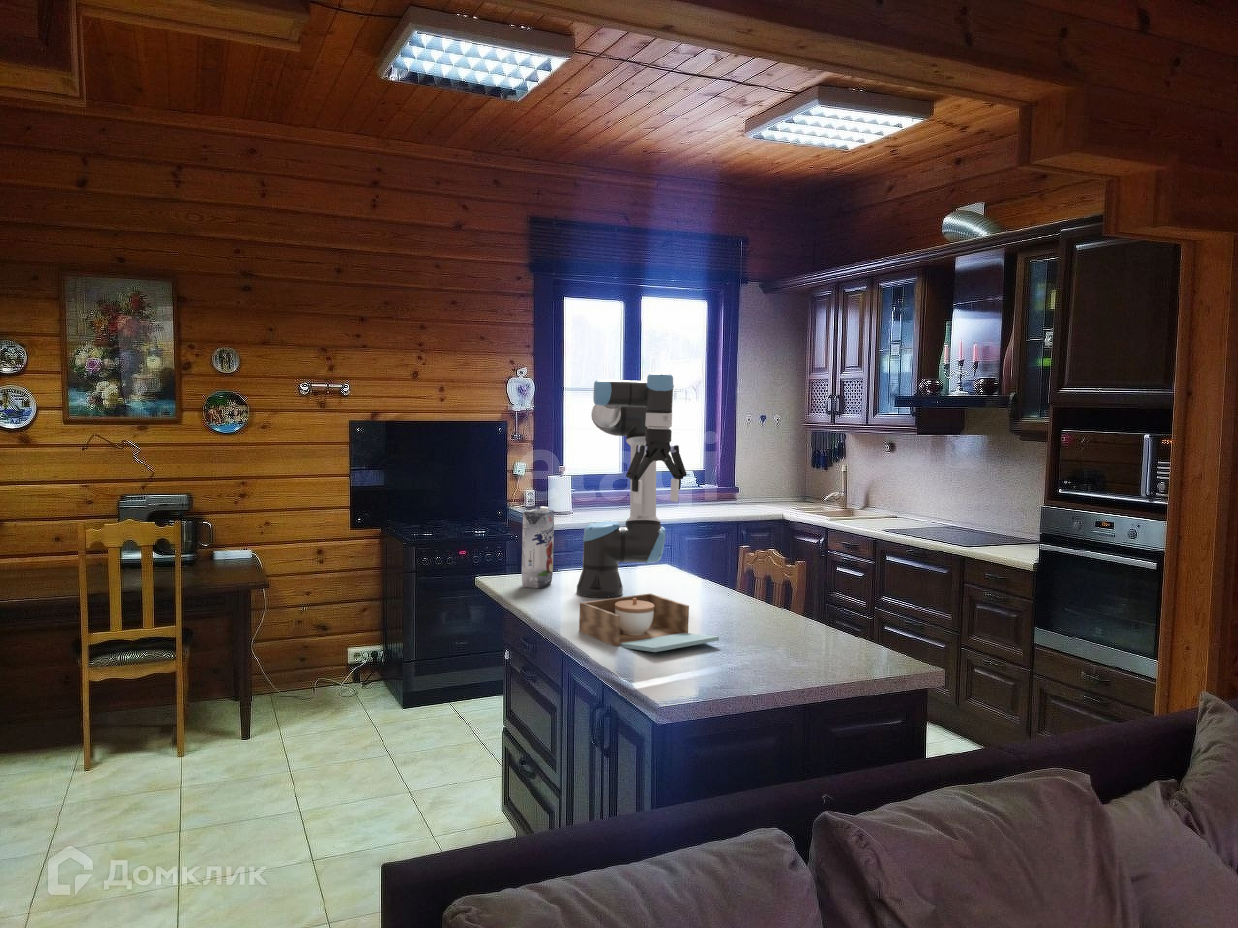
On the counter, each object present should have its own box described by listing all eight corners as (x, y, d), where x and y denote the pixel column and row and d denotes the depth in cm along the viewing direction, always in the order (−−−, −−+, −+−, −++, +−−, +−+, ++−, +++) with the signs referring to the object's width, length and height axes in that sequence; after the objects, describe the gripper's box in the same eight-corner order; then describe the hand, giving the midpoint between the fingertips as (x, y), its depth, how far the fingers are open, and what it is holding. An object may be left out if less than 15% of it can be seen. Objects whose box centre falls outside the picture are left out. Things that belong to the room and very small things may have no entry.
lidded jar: (660, 631, 244) (661, 597, 243) (641, 640, 235) (642, 604, 234) (626, 625, 250) (627, 592, 249) (606, 633, 240) (607, 599, 240)
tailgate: (618, 642, 230) (654, 647, 218) (681, 632, 242) (718, 636, 230) (618, 646, 230) (654, 652, 218) (681, 636, 242) (719, 640, 230)
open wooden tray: (578, 635, 242) (579, 602, 241) (649, 624, 256) (650, 593, 256) (615, 650, 228) (616, 616, 228) (687, 638, 242) (689, 605, 242)
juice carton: (518, 587, 301) (520, 507, 299) (530, 581, 311) (532, 503, 309) (543, 589, 298) (545, 508, 296) (554, 583, 308) (556, 505, 306)
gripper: (631, 428, 245) (628, 505, 247) (700, 429, 260) (697, 501, 262) (615, 427, 252) (613, 502, 253) (683, 427, 266) (680, 498, 268)
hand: (656, 502), depth 257 cm, fingers open, 13 cm apart
